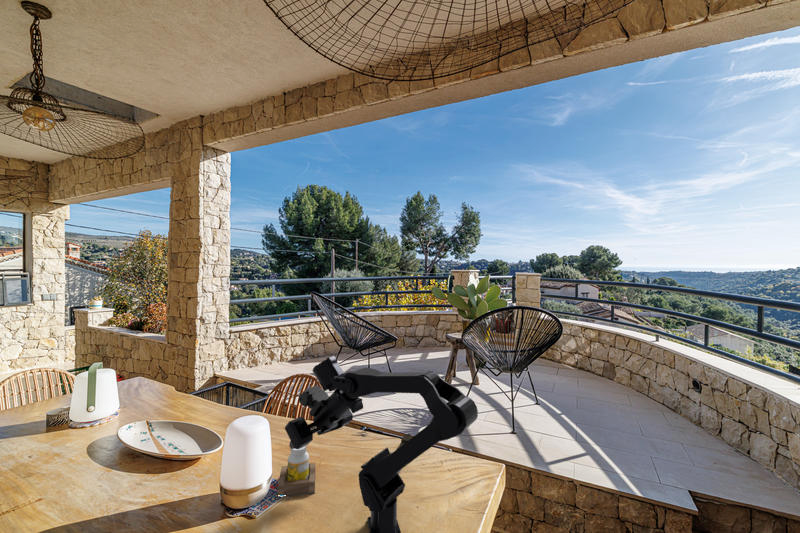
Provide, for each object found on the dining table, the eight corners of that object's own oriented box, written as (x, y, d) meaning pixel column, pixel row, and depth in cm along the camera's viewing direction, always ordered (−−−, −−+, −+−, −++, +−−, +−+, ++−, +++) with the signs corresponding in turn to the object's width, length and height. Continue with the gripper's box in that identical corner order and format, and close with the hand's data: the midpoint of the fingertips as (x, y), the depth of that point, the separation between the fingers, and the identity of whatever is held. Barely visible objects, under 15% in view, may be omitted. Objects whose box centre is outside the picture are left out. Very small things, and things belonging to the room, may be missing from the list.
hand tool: (396, 477, 95) (396, 460, 96) (383, 474, 97) (383, 457, 97) (417, 447, 113) (418, 432, 113) (406, 445, 114) (406, 430, 115)
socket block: (314, 493, 87) (314, 481, 87) (277, 497, 85) (277, 485, 86) (315, 473, 96) (315, 462, 96) (281, 477, 94) (281, 466, 94)
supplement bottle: (312, 484, 90) (312, 447, 91) (292, 492, 87) (293, 453, 87) (302, 475, 94) (303, 439, 95) (283, 482, 91) (284, 445, 91)
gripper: (345, 370, 96) (316, 403, 101) (291, 387, 80) (260, 424, 85) (367, 405, 91) (335, 437, 96) (314, 430, 75) (280, 467, 81)
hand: (304, 439), depth 90 cm, fingers open, 9 cm apart
